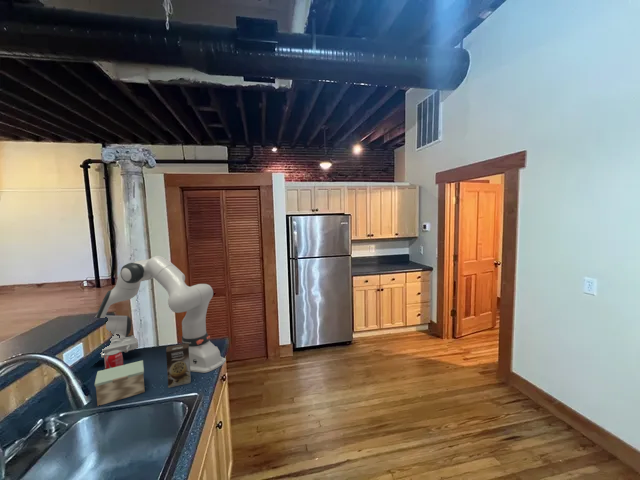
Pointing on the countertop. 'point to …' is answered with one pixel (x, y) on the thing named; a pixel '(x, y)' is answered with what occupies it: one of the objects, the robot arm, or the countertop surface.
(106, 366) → the soda can
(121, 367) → the box lid
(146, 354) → the countertop surface
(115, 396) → the storage box
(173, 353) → the coffee box
